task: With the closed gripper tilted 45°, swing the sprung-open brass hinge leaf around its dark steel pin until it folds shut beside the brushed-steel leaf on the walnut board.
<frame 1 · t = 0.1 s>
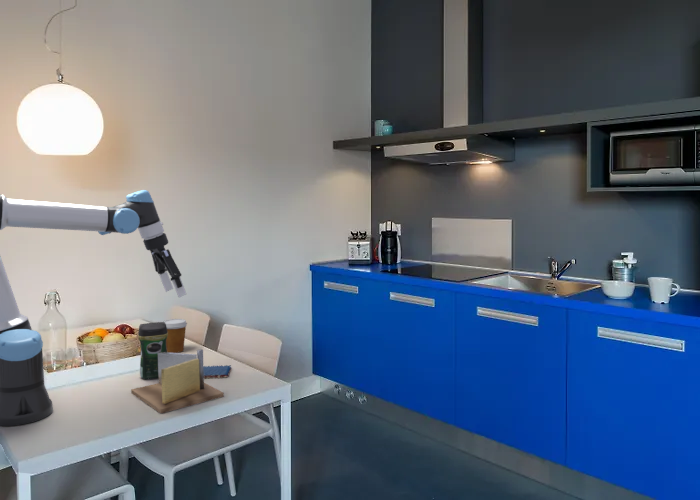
hand: (175, 293, 193), 28 cm above the table, tool tilted 20°, fingers open, 13 cm apart
walnut board: (177, 394, 173), on the table
coffee jar: (154, 376, 191), on the table
steel leaf and pin: (201, 392, 175), resting on walnut board
woven mat: (214, 375, 193), on the table
disposable coffee cup: (175, 351, 222), on the table
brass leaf: (181, 380, 167), point 7 cm above the table, hinge at 70.0°
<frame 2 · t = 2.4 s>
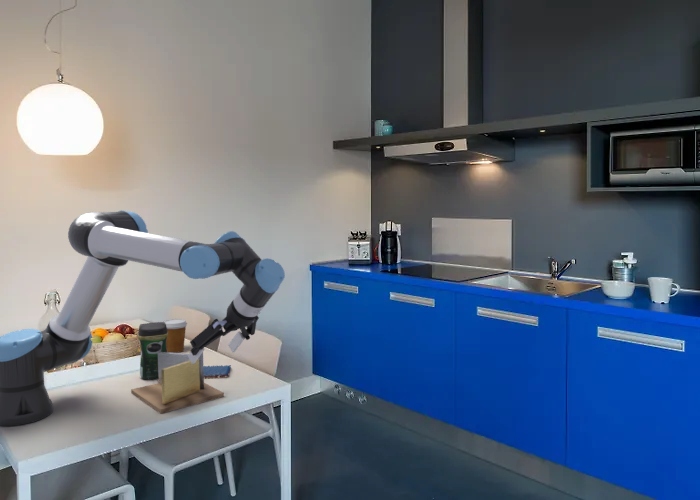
hand: (211, 354, 156), 18 cm above the table, tool tilted 45°, fingers open, 13 cm apart
nothing on the table moved.
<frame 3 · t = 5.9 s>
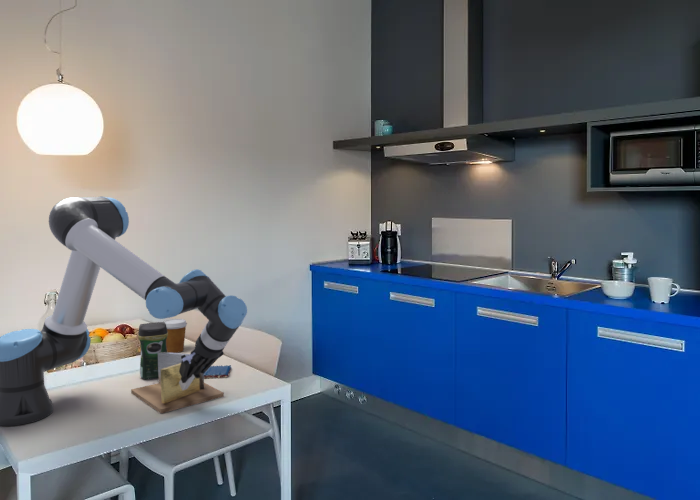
hand: (182, 385, 165), 5 cm above the table, tool tilted 45°, fingers closed
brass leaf: (180, 380, 167), point 7 cm above the table, hinge at 68.8°, touching gripper
everything else where it was.
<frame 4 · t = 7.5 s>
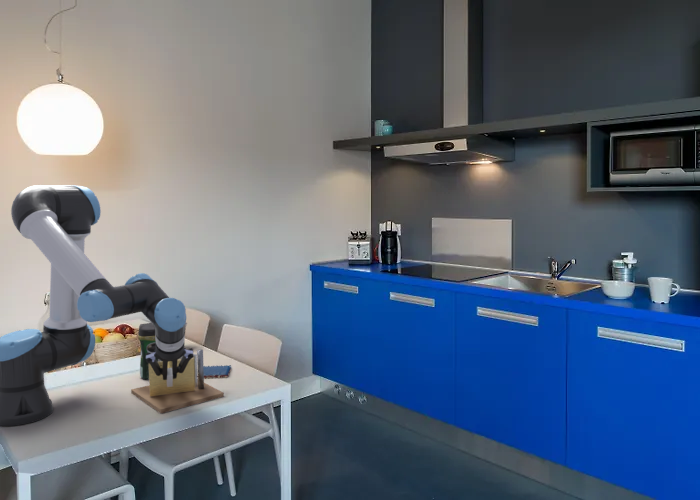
hand: (169, 382, 168), 5 cm above the table, tool tilted 45°, fingers closed
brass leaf: (171, 376, 170), point 7 cm above the table, hinge at 36.6°, touching gripper
everything else where it was.
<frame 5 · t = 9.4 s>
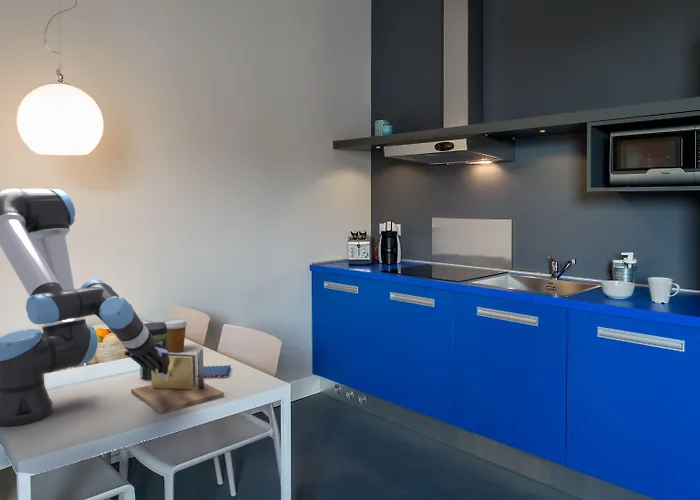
hand: (166, 377, 173), 6 cm above the table, tool tilted 45°, fingers closed
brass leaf: (172, 372, 174), point 7 cm above the table, hinge at 6.8°, touching gripper
everything else where it was.
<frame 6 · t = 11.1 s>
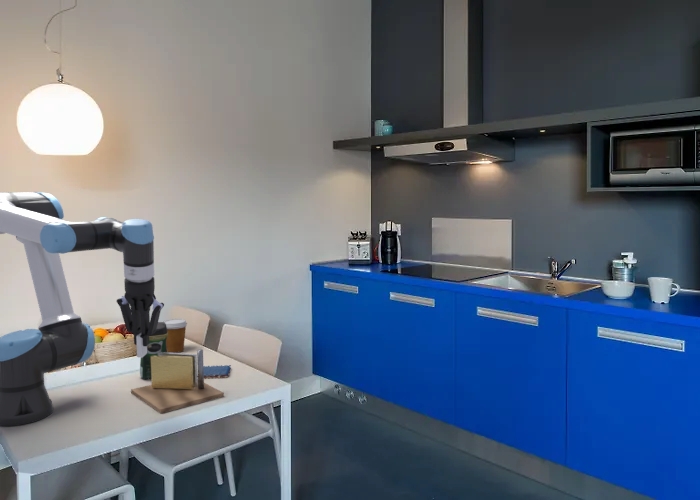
hand: (142, 354, 157), 17 cm above the table, tool pointing down, fingers closed
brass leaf: (172, 372, 174), point 7 cm above the table, hinge at 6.8°
everything else where it was.
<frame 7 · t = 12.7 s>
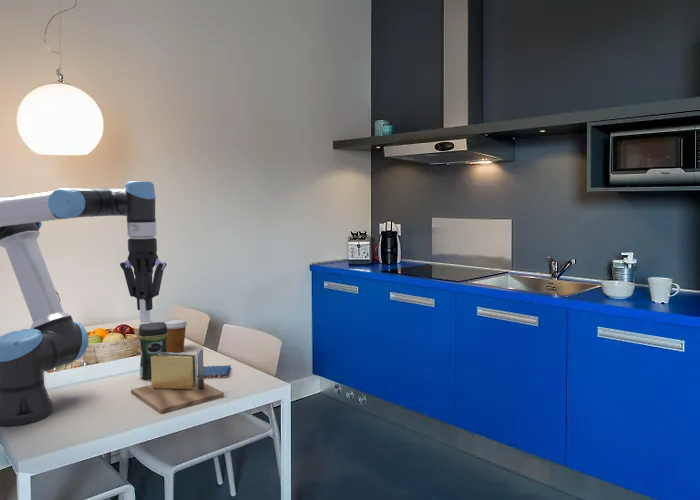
hand: (145, 321, 156), 26 cm above the table, tool pointing down, fingers closed
nothing on the table moved.
at the end: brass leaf at +7° (first picture: +70°) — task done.
